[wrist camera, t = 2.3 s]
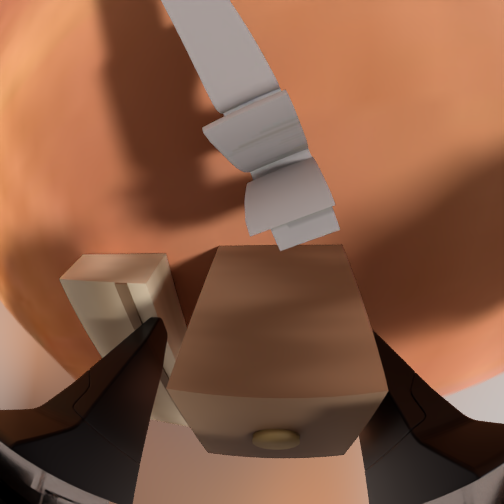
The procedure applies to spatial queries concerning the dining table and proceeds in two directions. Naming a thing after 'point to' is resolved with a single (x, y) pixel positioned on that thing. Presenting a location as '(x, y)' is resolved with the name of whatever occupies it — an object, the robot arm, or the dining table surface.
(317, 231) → the caliper
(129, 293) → the board
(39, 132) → the dining table surface
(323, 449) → the brown block with knob
